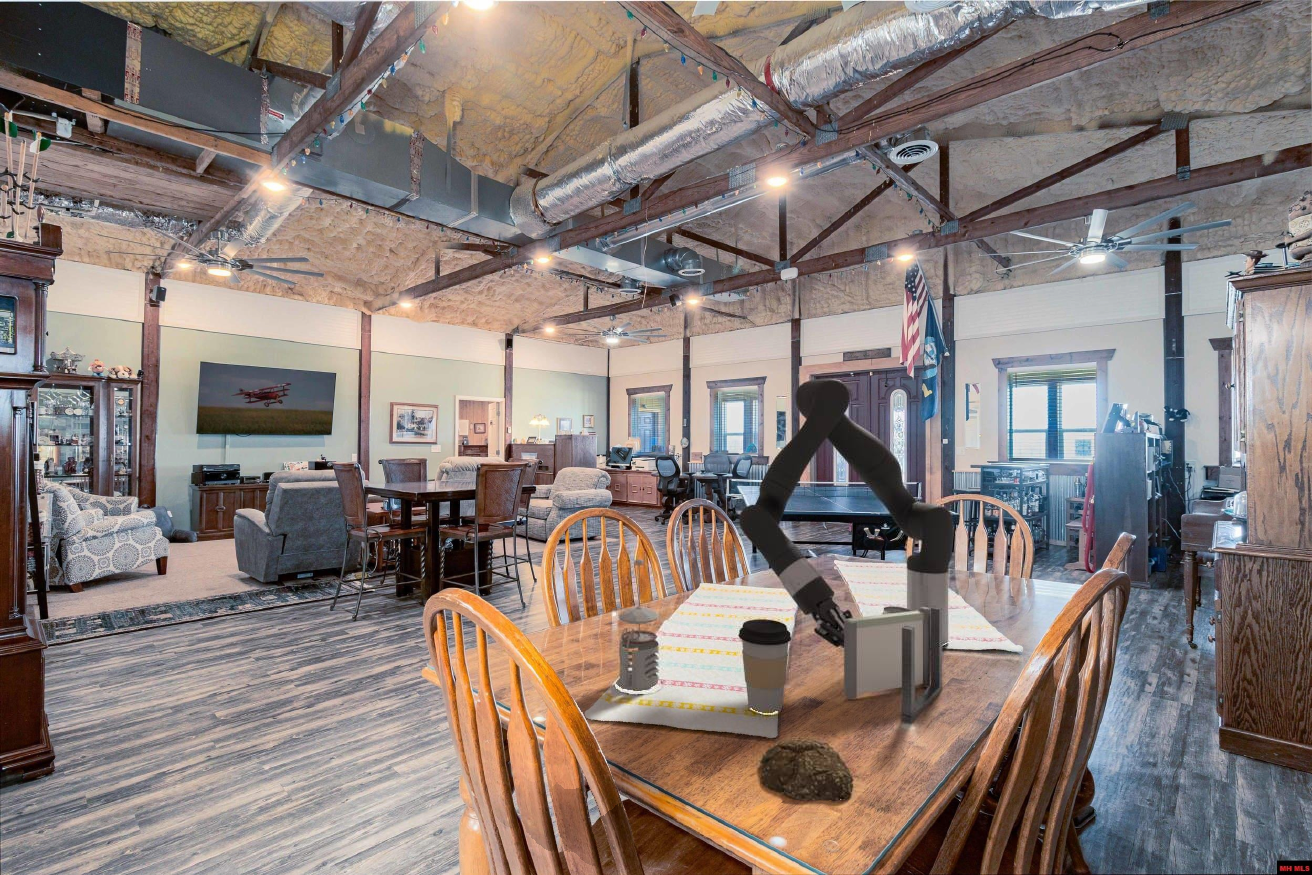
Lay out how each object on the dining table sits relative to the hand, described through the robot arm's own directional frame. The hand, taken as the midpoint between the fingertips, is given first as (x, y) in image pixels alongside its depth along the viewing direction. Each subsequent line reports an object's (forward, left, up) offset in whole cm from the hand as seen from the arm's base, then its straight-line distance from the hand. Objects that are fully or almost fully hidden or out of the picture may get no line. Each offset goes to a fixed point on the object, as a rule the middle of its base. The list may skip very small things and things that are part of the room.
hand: (863, 660), depth 116 cm
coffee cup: (+18, -11, -6) cm, 22 cm away
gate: (-3, +4, -6) cm, 8 cm away
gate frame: (-2, +10, -6) cm, 12 cm away
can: (-19, 0, -6) cm, 20 cm away
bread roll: (+34, +5, -7) cm, 35 cm away
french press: (+26, -35, -7) cm, 44 cm away
